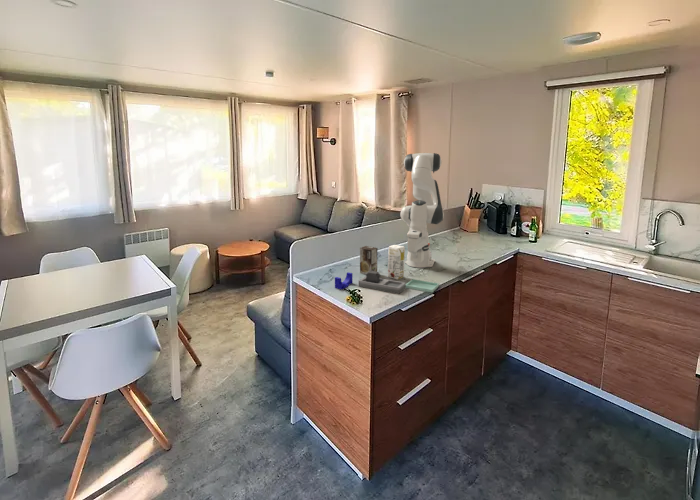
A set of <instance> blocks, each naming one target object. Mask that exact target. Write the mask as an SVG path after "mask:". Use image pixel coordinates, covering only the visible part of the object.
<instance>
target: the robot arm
mask: <svg viewBox="0 0 700 500" xmlns="http://www.w3.org/2000/svg"><path fill="white" fill-rule="evenodd" d="M442 162H443V161H442V157H441V155H440V154H439V153H435V152H434V153H431V152H420V153H419V152H418V153H409V154H406V156H405V157H404V160H403V167H404V169H405V171H407V172H411V181H412V183H413V184H412V196H413V198H414V199H416V200H413V201H412V202H411V205H407V206H403V207H402V208H401V210H400V218H401V220H402V221H403V222H404V223H405V224H406V225H407V226H408V228H409V230H408V232H407V234H406V237H407V256H406V260H404V264H406V265H408V266H409V267H412V268H432V267H434V264H435V261H436V259H435V258H434V259H433V258H432V255H433V254H432V251H430V244H431V243H430V242H429V235H430V234H429V232H428V224H430V225H431V224H432V225H439V224H440V223H442V221H443V220H444V216H445V215H444V213H445V212H444V210H443V206H442V201H441V195H440V189H439V184H438V181H437V180H436V179H434V178H433V176H432V174H435V172H437V171H438V170H440V168H441V166H442ZM419 249H420V250H423V251H424V260H423V261H422V262H416V261H410V254H411V252H412V253H413V258H414V259H416V258H417V251H418V250H419Z"/></svg>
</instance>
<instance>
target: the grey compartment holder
mask: <svg viewBox="0 0 700 500" xmlns="http://www.w3.org/2000/svg"><path fill="white" fill-rule="evenodd" d="M365 275H366V276H364V277H362V278H361V279H359V280H358V287H360V288H366V289H372V290H375V291H376V290H377V291H383V292H387V293H391V294H397V295H399V294H401V293H402V292H403V291H404V290H405V289H407V288H406V284H407V282H405V281H398V280H397V281H396V280H392V279H385V278H381V277H380V276H381V275H380V272H379V271H377V272H375V271H369V272H368V273H367V274H365Z"/></svg>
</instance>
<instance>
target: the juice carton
mask: <svg viewBox="0 0 700 500" xmlns="http://www.w3.org/2000/svg"><path fill="white" fill-rule="evenodd" d="M405 249H406V248H405V246H404V245H399V244H392V245H389V246H388V251H387V252H388V256H387V257H388V259H387V276H388V278H390V279H393V280H395V281H396V280H397V281H398V280H400V279H402V278H404V275H405V258H406V257H405V254H406V250H405Z"/></svg>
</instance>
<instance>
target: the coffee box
mask: <svg viewBox="0 0 700 500" xmlns="http://www.w3.org/2000/svg"><path fill="white" fill-rule="evenodd" d="M369 271H375V272H378V247H376V246H375V247H374V246H369V245H368V246H367V245H364V246H362V247H359V274H363V275H366V274H367V273H368V272H369Z"/></svg>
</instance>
